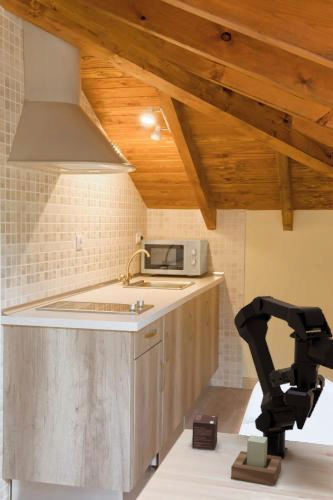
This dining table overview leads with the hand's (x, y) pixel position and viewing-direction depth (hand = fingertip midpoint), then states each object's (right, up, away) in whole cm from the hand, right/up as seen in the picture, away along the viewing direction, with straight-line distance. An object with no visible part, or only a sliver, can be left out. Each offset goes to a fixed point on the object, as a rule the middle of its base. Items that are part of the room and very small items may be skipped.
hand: (303, 423), depth 150 cm
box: (-23, -11, +16) cm, 30 cm away
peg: (-12, -11, -1) cm, 16 cm away
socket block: (-12, -12, -1) cm, 17 cm away
